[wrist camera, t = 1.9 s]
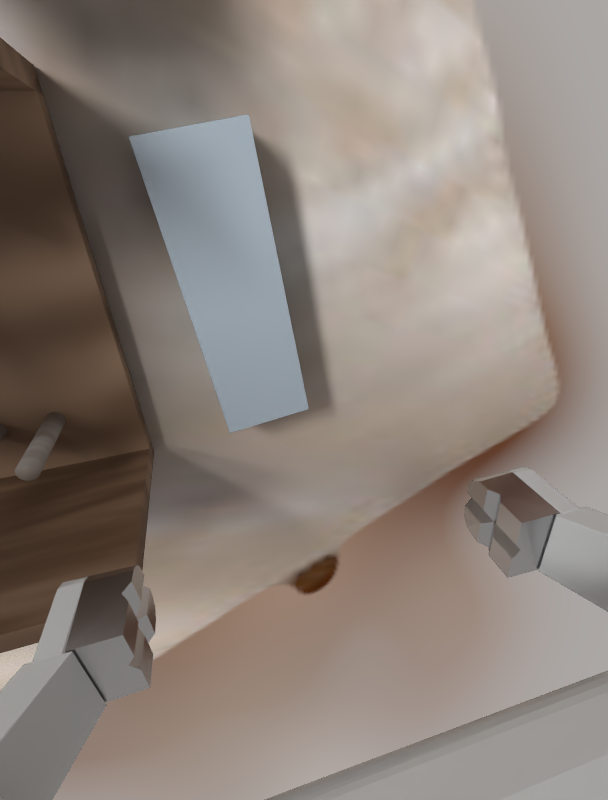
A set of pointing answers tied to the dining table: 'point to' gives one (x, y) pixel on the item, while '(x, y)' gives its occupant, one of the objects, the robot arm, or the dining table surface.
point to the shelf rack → (57, 382)
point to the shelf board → (226, 263)
